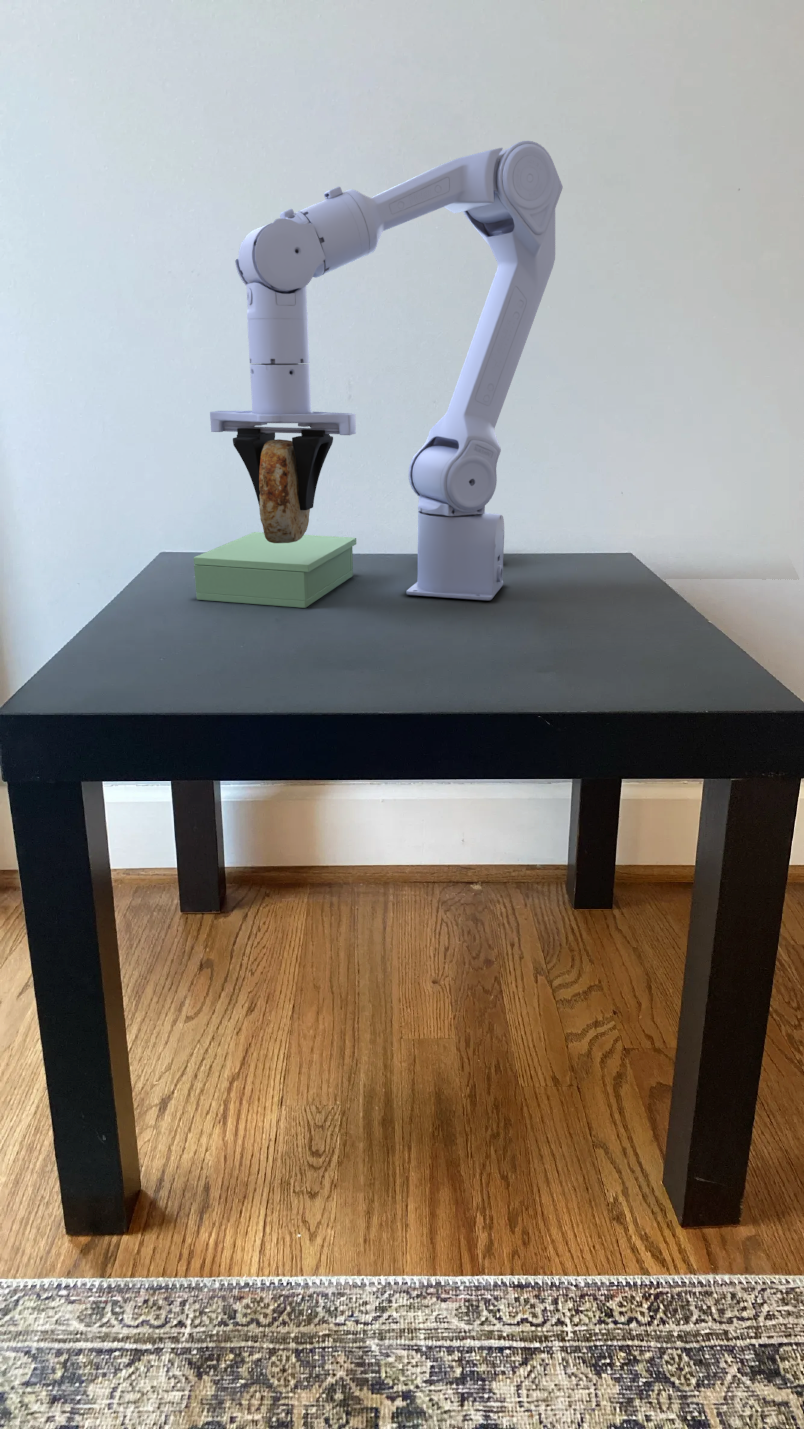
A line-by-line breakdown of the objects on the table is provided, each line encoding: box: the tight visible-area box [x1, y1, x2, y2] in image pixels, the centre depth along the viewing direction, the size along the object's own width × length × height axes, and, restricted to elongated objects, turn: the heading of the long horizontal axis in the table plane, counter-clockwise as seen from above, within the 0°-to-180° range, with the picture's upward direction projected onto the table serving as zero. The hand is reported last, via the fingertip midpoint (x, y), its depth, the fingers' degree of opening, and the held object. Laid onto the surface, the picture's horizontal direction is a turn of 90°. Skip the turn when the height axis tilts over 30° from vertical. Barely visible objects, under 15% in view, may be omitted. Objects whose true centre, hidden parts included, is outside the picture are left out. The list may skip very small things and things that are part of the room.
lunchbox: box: [193, 546, 354, 609], centre depth 106 cm, size 13×16×4 cm
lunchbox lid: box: [193, 531, 357, 572], centre depth 106 cm, size 13×16×1 cm
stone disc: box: [258, 438, 311, 543], centre depth 94 cm, size 10×4×10 cm, turn 172°
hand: (286, 507), depth 95 cm, fingers closed on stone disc, 4 cm apart
